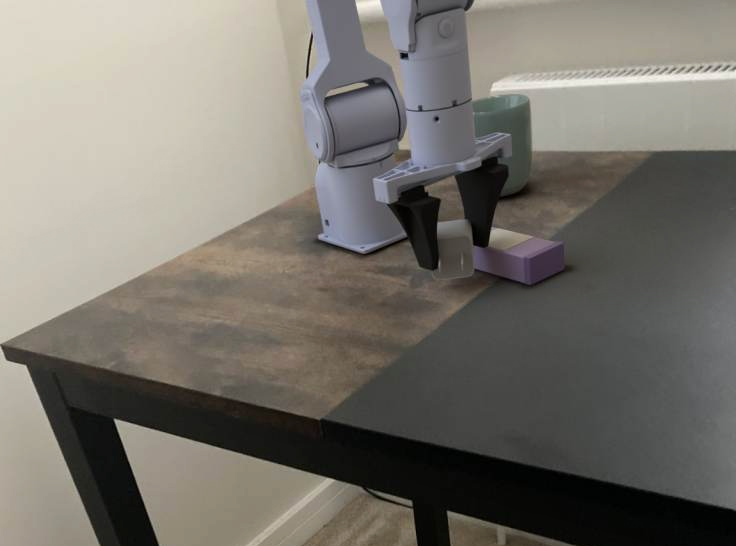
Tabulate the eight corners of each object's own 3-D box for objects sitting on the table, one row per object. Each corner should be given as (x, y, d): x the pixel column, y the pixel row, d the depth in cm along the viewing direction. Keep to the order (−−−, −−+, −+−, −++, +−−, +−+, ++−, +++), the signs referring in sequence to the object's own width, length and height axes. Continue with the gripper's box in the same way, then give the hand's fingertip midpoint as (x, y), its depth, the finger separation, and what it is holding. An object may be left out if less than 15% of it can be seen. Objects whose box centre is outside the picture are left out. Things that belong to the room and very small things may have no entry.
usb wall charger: (474, 259, 87) (470, 218, 84) (475, 287, 81) (471, 244, 79) (433, 264, 87) (428, 223, 85) (431, 292, 82) (426, 249, 79)
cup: (539, 196, 103) (535, 104, 98) (471, 207, 104) (464, 116, 98) (529, 177, 110) (525, 90, 104) (466, 188, 110) (458, 101, 105)
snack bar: (445, 260, 92) (442, 235, 90) (477, 246, 94) (475, 221, 92) (530, 285, 83) (529, 258, 81) (564, 269, 85) (564, 242, 83)
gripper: (401, 130, 71) (421, 292, 78) (533, 83, 76) (539, 238, 84) (350, 122, 76) (373, 275, 83) (477, 79, 81) (488, 226, 89)
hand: (453, 256), depth 84 cm, fingers closed on usb wall charger, 6 cm apart
